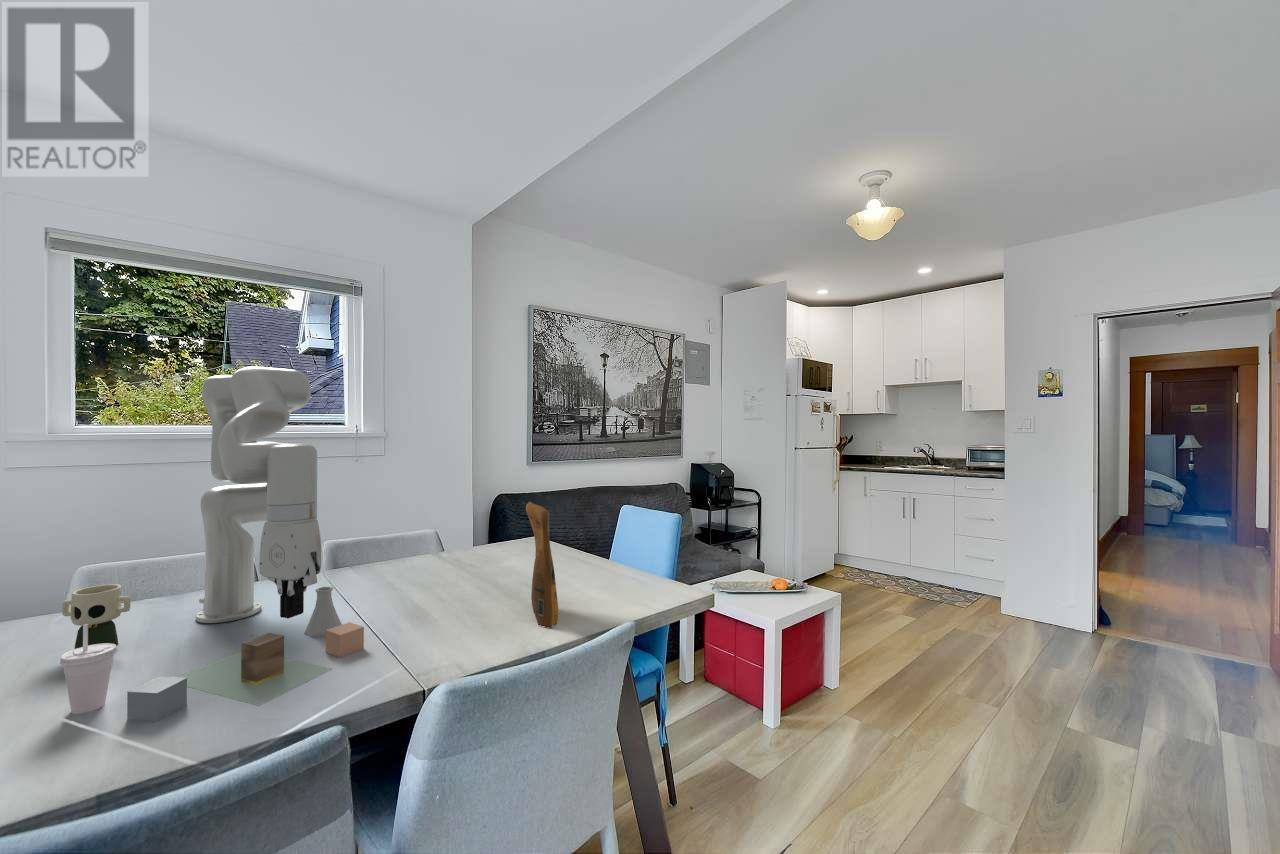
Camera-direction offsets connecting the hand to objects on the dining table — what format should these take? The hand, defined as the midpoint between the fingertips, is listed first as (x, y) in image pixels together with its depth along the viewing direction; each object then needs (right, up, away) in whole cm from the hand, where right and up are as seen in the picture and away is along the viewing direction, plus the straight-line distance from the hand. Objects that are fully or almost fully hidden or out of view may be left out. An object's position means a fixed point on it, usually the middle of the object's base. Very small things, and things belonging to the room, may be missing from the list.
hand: (291, 615), depth 94 cm
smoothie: (-28, -13, -8) cm, 32 cm away
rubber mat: (-10, -13, +4) cm, 17 cm away
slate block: (-16, -13, -9) cm, 22 cm away
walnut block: (-7, -12, +3) cm, 15 cm away
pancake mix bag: (+38, -14, +36) cm, 54 cm away
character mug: (-48, -12, +13) cm, 51 cm away
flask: (-9, -13, +25) cm, 29 cm away
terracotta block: (+1, -13, +15) cm, 20 cm away
